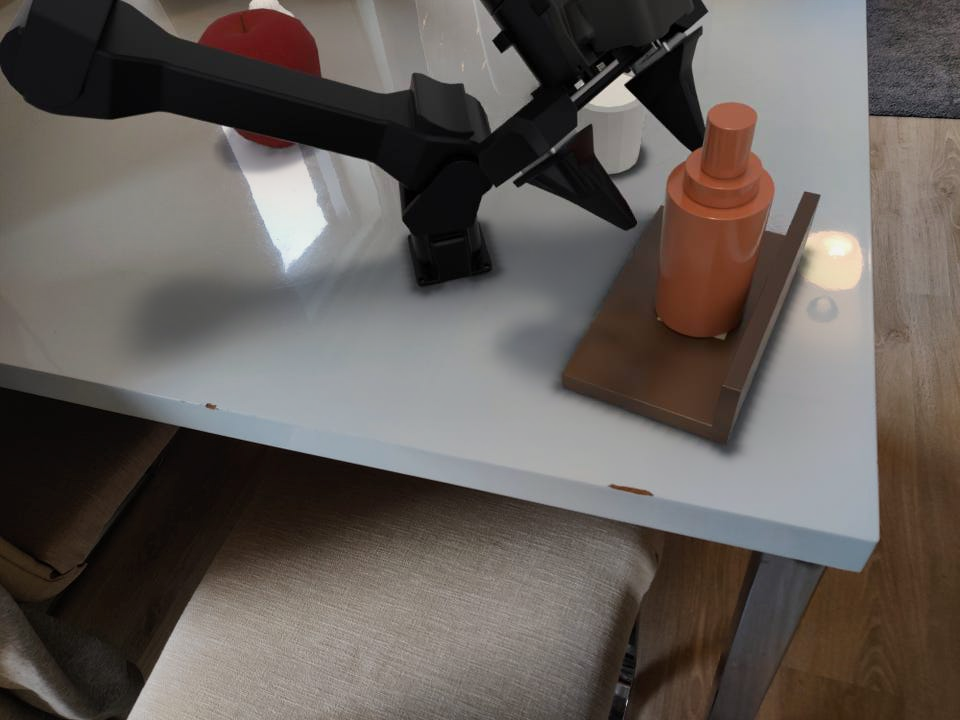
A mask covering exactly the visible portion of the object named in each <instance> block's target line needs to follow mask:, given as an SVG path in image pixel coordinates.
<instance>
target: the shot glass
mask: <svg viewBox="0 0 960 720" xmlns="http://www.w3.org/2000/svg"><path fill="white" fill-rule="evenodd" d="M633 76H635V75H634V73H633V72H632V71H631V72H630V73H628V74H627V73H623V74H621V75H620V76H619V77H618V78H617V79H616V80H614V81H613V82H612V83H611V84H610V85H609V86H607V87H606V88H605V89H604V90H603V91H602V92H600V93H599V94H598V95H597V96H596V97H595V98H593V99H592V100H591V101H590V102H589V103H588V104H586V105H585V106H584V107H583V108H582V109H581V110H579V111H578V112H577V119H578V126H577V127H576V128H575V130H576V131H577V133H578V132H579V131H581V130H582V129H583V128H585V127H586V126H588V125H589V124H592V126H593V141H594V153H595V155H596V157H597V159H598V160H599V162H600V163H601V165H602V166H603V168H604V169H605V171H606V172H607V173H608V175H614V174H620V173H623V172H625V171H628V170H629V169H631V168H632V167H633V166H634V165H636V164H637V161H638V159H639V156H640V151H641V145H642V139H643V133H644V126H645V122H646V116H647V111H648V109H647V108H646V107H645V106H644V105H642V104H641V102H640V101H639V100H638V99H637V98H636V97H635V96H634V95H633V94H632V93H631V92H630V91H629V90H628V89H627V88H626V87H625V86H624V84H625V83H626V82H628V81H629V80H630V79H631V78H632V77H633ZM582 85H584V83H583V81H582V80H580V81H579V82H577V83H576V84H575V87H576V88H577V89H579V88H580V87H581V86H582Z"/></svg>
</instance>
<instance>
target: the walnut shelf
mask: <svg viewBox="0 0 960 720" xmlns="http://www.w3.org/2000/svg"><path fill="white" fill-rule="evenodd" d="M821 197H822V195H821V194H820V193H814V192H811V191H806V190H805V191H803V193H802V196H801V197H800V200H799V203H798V205H797V207H796V209H795V211H794V214H793V217H792V219H791V221H790V224H789V226H788V229H787V231H786V232H785V233H786V234H782V233H779V232H774V231H770V230H765V234H764V238H763V242H762V246H761V250H760V254H759V258H758V262H757V266H756V270H755V274H754V278H753V282H752V286H751V290H750V294H749V299H748V303H747V307H746V311H745V314H744V317H743V319H742V320H741V322H740V323H739V324H738V325H737V326H736V327H735V328H734V329H732V330H731V331H729V332H727V333H725V334H722V335H718V336H714V337H692V336H688V335H684V334H681V333H679V332H677V331H674V330H673V329H671V328H669V327H668V326H667V325H666V324H665V323H663V322H662V320H661V319H660V318H659V316H658V315H657V313H656V310H655V307H654V296H655V287H656V278H657V268H658V259H659V249H660V240H661V230H662V221H663V212H664V204H661V205H660V206H659V207H658V208H657V210H656V212H655V214H654V215H653V217H652V219H651V221H650V223H649V224H648V226H647V228H646V229H645V231H644V233H643V235H642V236H641V237H640V239H639V241H638V243H637V245H636V246H635V248H634V250H633V252H632V253H631V255H630V256H629V259H628V260H627V262H626V264H625V266H624V267H623V269H622V270H621V271H620V274H619V275H618V278H617V279H616V281H615V282H614V284H613V286H612V287H611V290H610V291H609V293H608V295H607V296H606V298H605V300H604V301H603V303H602V305H601V306H600V308H599V310H598V311H597V314H596V315H595V316H594V318H593V320H592V322H591V323H590V325H589V326H588V329H587V330H586V332H585V334H584V336H583V337H582V339H581V341H580V342H579V344H578V346H577V348H576V349H575V351H574V353H573V354H572V356H571V358H570V359H569V361H568V363H567V365H566V366H565V368H564V370H563V371H562V372H561V382H562V383H561V387H563V388H566V389H568V390H571V391H574V392H577V393H579V394H583V395H585V396H589V397H591V398H593V399H596V400H598V401H602V402H605V403H607V404H610V405H613V406H615V407H618V408H622V409H624V410H627V411H630V412H632V413H635V414H639V415H641V416H644V417H647V418H649V419H652V420H655V421H658V422H661V423H663V424H666V425H669V426H671V427H674V428H677V429H680V430H683V431H685V432H689V433H691V434H695V435H697V436H700V437H702V438H706V439H708V440H711V441H713V442H716V443H719V444H722V445H725V446H727V445H728V443H729V440H730V438H731V436H732V433H733V430H734V428H735V426H736V422H737V420H738V417H739V416H740V412H741V410H742V407H743V405H744V402H745V400H746V397H747V395H748V393H749V390H750V388H751V386H752V383H753V380H754V377H755V375H756V372H757V370H758V368H759V365H760V362H761V360H762V357H763V355H764V352H765V350H766V347H767V344H768V342H769V339H770V337H771V335H772V332H773V331H774V327H775V324H776V322H777V320H778V317H779V315H780V313H781V310H782V307H783V305H784V302H785V299H786V297H787V295H788V292H789V289H790V287H791V285H792V282H793V279H794V277H795V274H796V272H797V269H798V267H799V264H800V262H801V259H802V257H803V254H804V251H805V247H806V245H807V241H808V238H809V235H810V231H811V230H812V229H811V228H812V225H813V222H814V219H815V216H816V213H817V209H818V206H819V202H820V200H821Z"/></svg>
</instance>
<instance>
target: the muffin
mask: <svg viewBox="0 0 960 720" xmlns="http://www.w3.org/2000/svg"><path fill="white" fill-rule="evenodd" d="M259 8H265V9H273V10H276V11H279V12H282V13H285V14H287V15H290V16H292V17H294V18H296V17H295V15H294V14H293V12H291V11H290V10H287V9H285V8H284V7H283V6H282V5H281V4H280V2H279V1H278V0H251V1H250V2H249V4H248V10H251V9H259Z"/></svg>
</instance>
